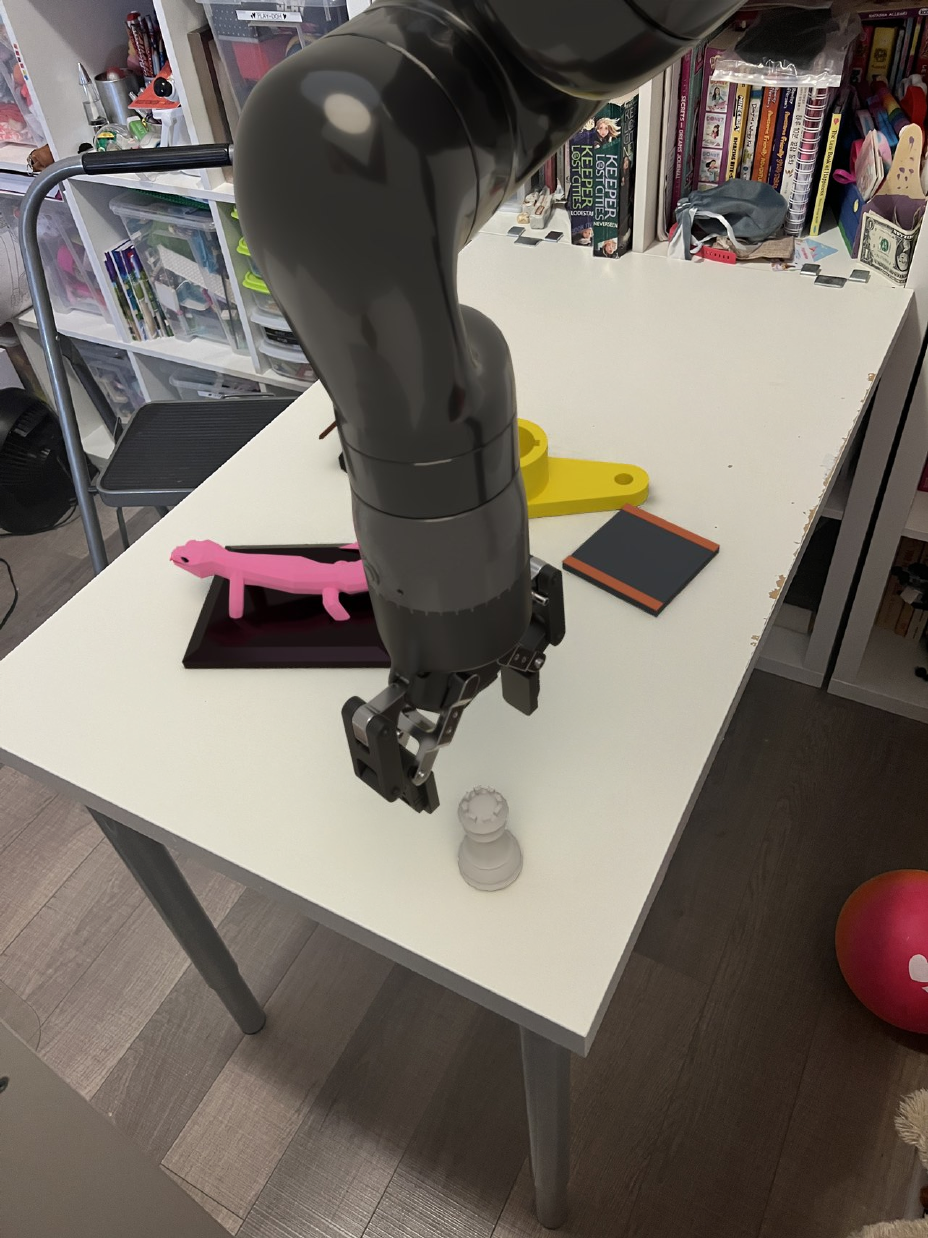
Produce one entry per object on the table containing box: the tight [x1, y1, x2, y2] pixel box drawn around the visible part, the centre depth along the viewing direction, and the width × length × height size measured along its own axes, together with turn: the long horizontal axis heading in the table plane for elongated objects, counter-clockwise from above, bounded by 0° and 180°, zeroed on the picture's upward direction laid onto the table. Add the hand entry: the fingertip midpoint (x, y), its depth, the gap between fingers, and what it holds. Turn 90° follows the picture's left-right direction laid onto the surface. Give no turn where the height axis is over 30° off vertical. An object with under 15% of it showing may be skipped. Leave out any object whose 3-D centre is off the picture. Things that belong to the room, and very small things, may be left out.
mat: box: [561, 503, 721, 618], centre depth 79 cm, size 10×10×1 cm
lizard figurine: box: [169, 538, 391, 670], centre depth 77 cm, size 15×20×7 cm
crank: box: [518, 417, 650, 519], centre depth 85 cm, size 18×8×6 cm, turn 83°
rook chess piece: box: [456, 785, 524, 892], centre depth 58 cm, size 4×4×8 cm
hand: (473, 751), depth 51 cm, fingers open, 8 cm apart
